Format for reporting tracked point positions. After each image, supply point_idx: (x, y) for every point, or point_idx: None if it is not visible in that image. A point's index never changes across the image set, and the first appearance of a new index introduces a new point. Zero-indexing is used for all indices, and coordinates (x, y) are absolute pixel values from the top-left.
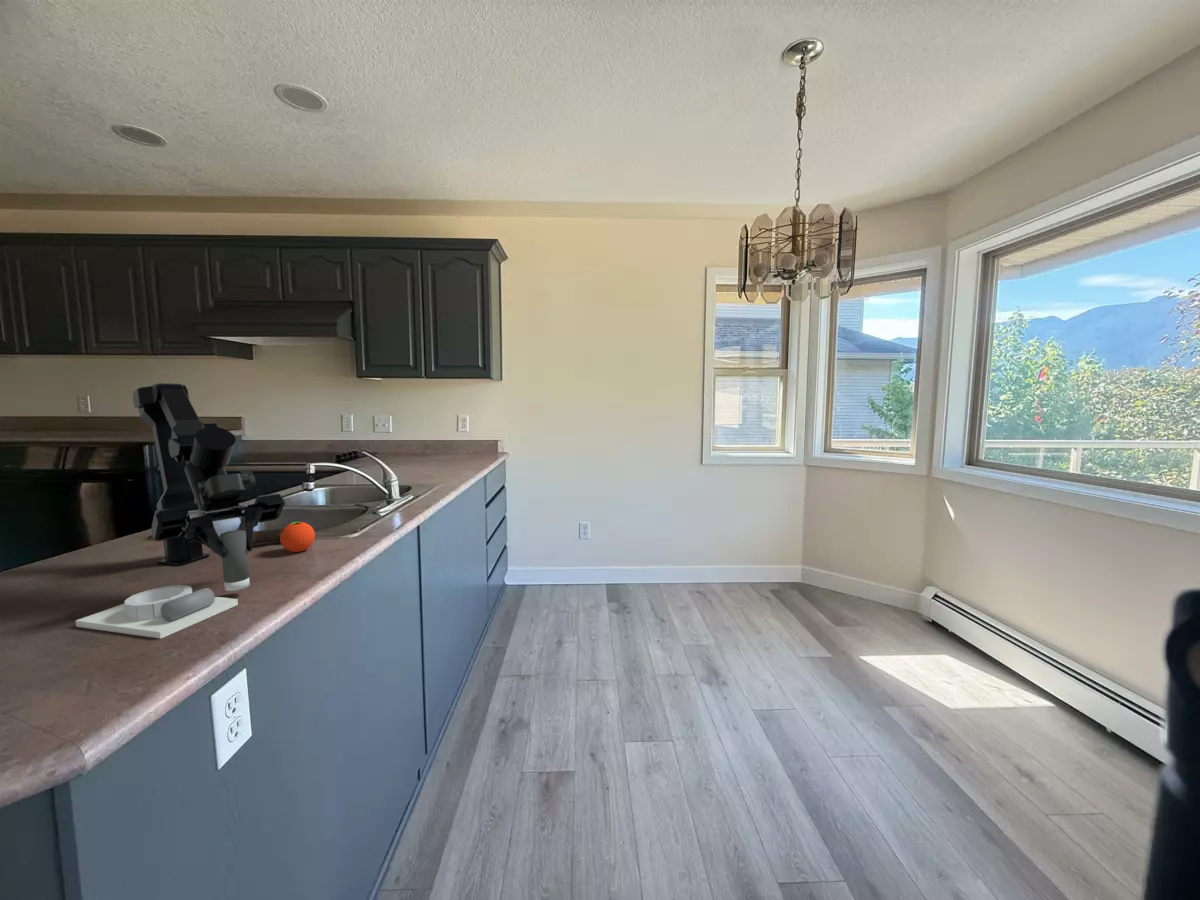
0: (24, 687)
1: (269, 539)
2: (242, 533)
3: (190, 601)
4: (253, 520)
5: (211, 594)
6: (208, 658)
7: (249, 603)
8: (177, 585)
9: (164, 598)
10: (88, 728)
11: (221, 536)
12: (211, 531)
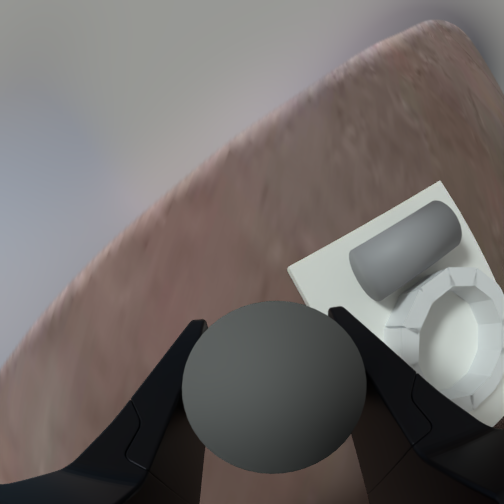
0: None
1: None
2: (220, 320)
3: (410, 218)
4: (81, 465)
5: (361, 247)
6: (360, 59)
7: (261, 257)
8: None
9: None
10: (439, 34)
11: (362, 364)
12: (430, 414)
